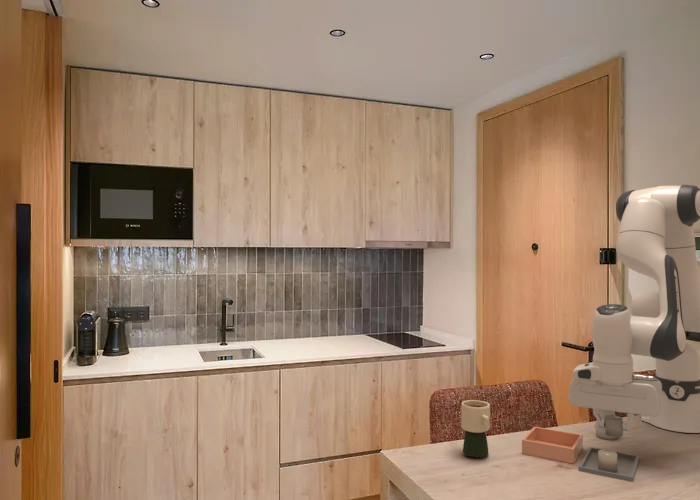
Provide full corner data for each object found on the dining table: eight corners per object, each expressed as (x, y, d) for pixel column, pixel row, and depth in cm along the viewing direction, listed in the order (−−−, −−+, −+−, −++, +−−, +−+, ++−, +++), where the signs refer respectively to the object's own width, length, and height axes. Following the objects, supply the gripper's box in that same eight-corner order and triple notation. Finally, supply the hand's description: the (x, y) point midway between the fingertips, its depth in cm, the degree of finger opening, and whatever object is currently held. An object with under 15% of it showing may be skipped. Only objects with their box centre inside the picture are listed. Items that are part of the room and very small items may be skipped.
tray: (589, 452, 139) (589, 446, 139) (639, 461, 133) (639, 455, 133) (578, 472, 126) (578, 466, 126) (632, 483, 120) (632, 477, 120)
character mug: (500, 461, 133) (500, 408, 133) (475, 465, 131) (475, 411, 131) (475, 446, 143) (475, 396, 143) (452, 449, 141) (451, 399, 141)
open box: (534, 441, 147) (534, 426, 147) (582, 450, 140) (582, 434, 140) (521, 455, 137) (521, 439, 137) (573, 466, 130) (573, 449, 130)
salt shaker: (613, 435, 152) (613, 388, 152) (621, 442, 146) (621, 394, 146) (591, 434, 152) (591, 388, 152) (599, 441, 147) (599, 393, 147)
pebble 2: (599, 465, 130) (599, 448, 130) (618, 468, 127) (618, 451, 127) (596, 470, 126) (596, 453, 126) (616, 474, 124) (616, 457, 124)
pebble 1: (605, 430, 136) (605, 414, 136) (623, 432, 134) (623, 416, 134) (603, 435, 132) (603, 418, 132) (621, 438, 130) (621, 421, 130)
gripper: (662, 373, 130) (663, 431, 130) (571, 365, 141) (572, 418, 141) (661, 380, 125) (662, 440, 125) (566, 370, 136) (567, 425, 136)
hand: (613, 428), depth 133 cm, fingers closed on pebble 1, 4 cm apart
